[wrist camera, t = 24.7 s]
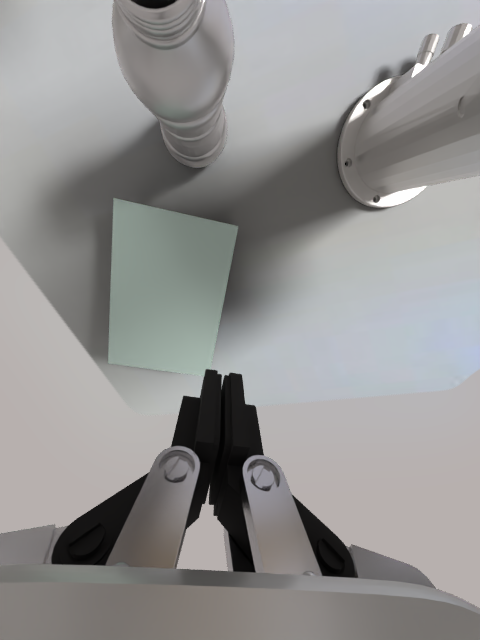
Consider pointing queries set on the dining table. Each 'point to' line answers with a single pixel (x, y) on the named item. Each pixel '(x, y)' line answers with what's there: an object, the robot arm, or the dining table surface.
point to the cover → (166, 287)
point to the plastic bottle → (179, 69)
